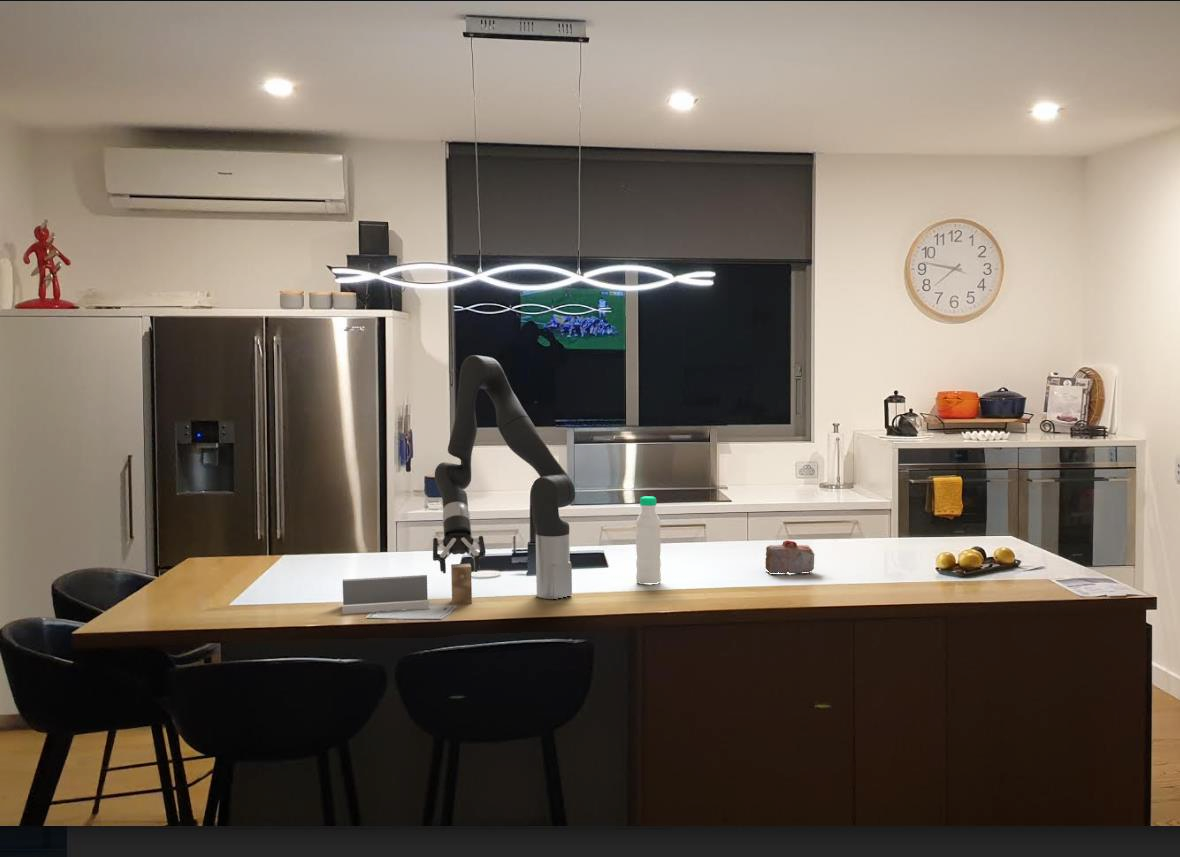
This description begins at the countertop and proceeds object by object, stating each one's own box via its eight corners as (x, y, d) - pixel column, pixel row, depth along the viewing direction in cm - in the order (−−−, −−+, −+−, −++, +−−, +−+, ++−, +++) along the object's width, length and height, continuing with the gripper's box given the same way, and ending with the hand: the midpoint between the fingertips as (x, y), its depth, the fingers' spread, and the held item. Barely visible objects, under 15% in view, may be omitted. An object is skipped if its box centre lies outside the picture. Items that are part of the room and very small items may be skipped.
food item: (807, 569, 301) (807, 537, 301) (815, 575, 294) (816, 542, 293) (763, 570, 300) (763, 538, 300) (770, 576, 292) (770, 543, 292)
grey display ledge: (427, 600, 268) (426, 574, 268) (428, 608, 259) (428, 582, 259) (343, 605, 264) (342, 579, 263) (342, 614, 255) (341, 587, 254)
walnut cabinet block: (470, 599, 268) (469, 563, 268) (472, 604, 264) (471, 567, 263) (451, 600, 267) (451, 564, 267) (453, 605, 263) (452, 568, 262)
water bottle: (659, 579, 290) (659, 495, 288) (662, 585, 283) (661, 498, 281) (635, 580, 289) (634, 495, 287) (637, 585, 282) (636, 499, 280)
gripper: (431, 515, 274) (434, 564, 263) (482, 513, 276) (487, 562, 266) (430, 530, 279) (433, 580, 269) (481, 528, 282) (485, 577, 272)
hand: (460, 571), depth 268 cm, fingers open, 8 cm apart
